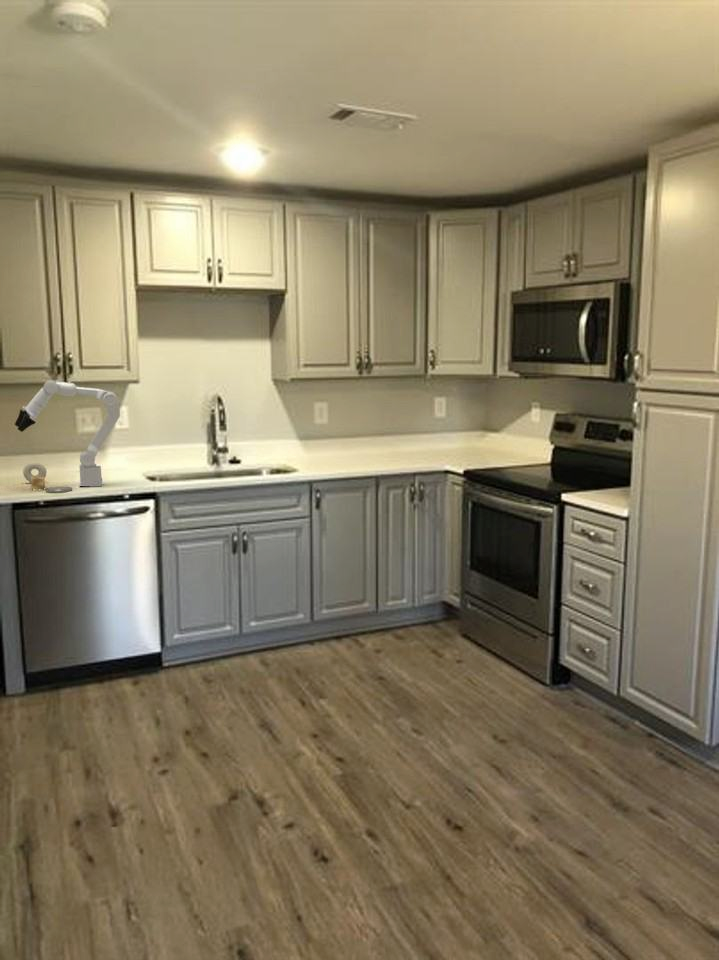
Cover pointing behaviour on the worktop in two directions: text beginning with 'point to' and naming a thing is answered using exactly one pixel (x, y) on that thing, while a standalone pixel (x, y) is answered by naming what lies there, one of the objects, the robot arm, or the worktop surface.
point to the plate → (58, 489)
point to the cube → (38, 483)
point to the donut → (34, 465)
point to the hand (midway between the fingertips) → (18, 428)
